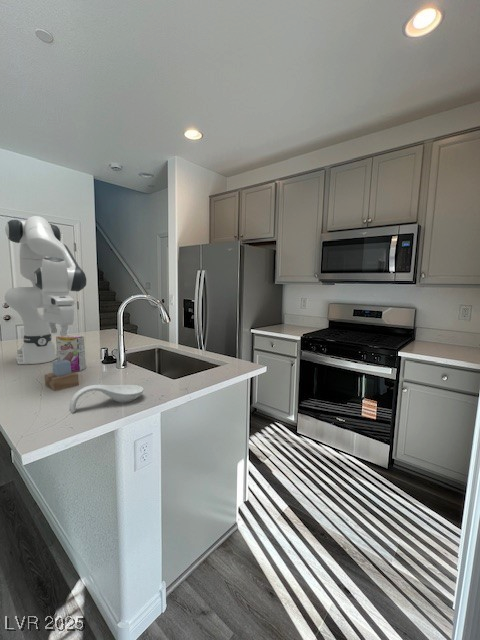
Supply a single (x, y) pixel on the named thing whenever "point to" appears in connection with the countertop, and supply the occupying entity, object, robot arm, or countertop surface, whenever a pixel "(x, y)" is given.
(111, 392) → the spoon rest
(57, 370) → the slate blue cube
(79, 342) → the candy bar box
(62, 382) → the walnut block
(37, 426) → the countertop surface
